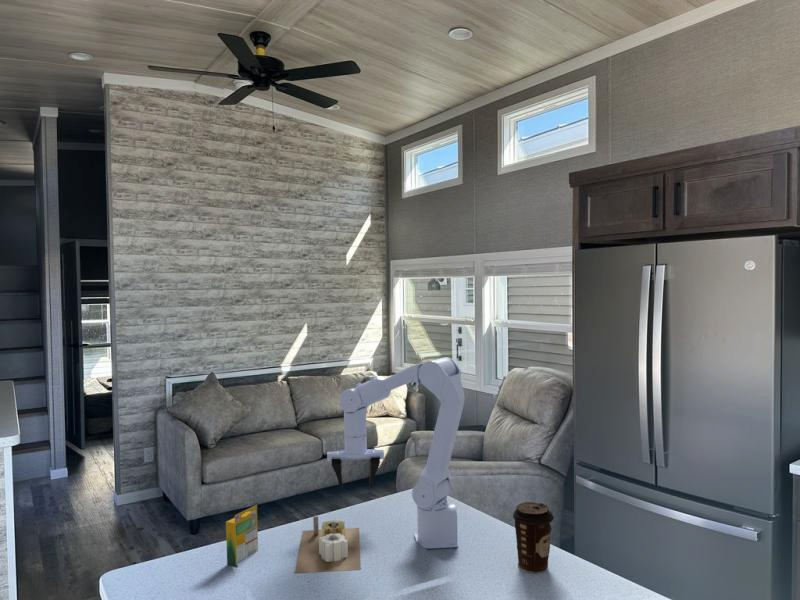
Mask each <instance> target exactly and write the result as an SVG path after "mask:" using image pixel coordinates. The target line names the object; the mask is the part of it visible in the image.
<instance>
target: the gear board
mask: <svg viewBox="0 0 800 600" xmlns="http://www.w3.org/2000/svg"><path fill="white" fill-rule="evenodd" d="M312 518H313V529H312V530H311V529H310V530H302V533H301V537H300V542H299V546H298V547H299V548H298V553H297V557H296V564H295V568H294V574H309V573H310V574H311V573H324V572H325V573H327V572H344V571H345V572H346V571H347V572H348V571H359V570H360V571H361V570H362V567H361V566H362V565H361V543H360V542H361V541H360V528H359V527H352V528H351V527H350V528H345V540H348V556H347V558H343V559H341V560H338V561H332V562H331V561H330V562H326V561H325V560H323V559H322V557H321V554H319V538H320V537H322V529H319V516H318V515H314V516H313V517H312ZM331 527H336V523H335V522H333V523H331ZM330 540H331V541H334V540H336V535H331V536H330Z"/></svg>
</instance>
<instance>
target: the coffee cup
mask: <svg viewBox="0 0 800 600" xmlns="http://www.w3.org/2000/svg"><path fill="white" fill-rule="evenodd" d="M512 518H513V520H514V527H515V528H514V530H515V539H516V550H517V559H518V562H517V567H518V568H519V569H521V570H522V571H524V572H527V573H531V574H538V573H544V572H545V571H547V570H548V568H549V557H550V555H549V554H550V552H551V551H550V548H551V538H552V536H551V535H552V526H551V523H552V522H553V520H554V518H555V517H554V515H553V513H552V511H550V509H549V507H548V505H547V504H544V503H540V502H536V501H535V502H533V501H531V502H530V501H525V502H521V503H519V504H517V506H516V509H515V510H514V511H513V513H512Z"/></svg>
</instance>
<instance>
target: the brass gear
mask: <svg viewBox="0 0 800 600" xmlns="http://www.w3.org/2000/svg"><path fill="white" fill-rule="evenodd" d="M333 522H335V523H336V527H331V523H333ZM345 527H346V526H345V521H343V520H330V521H328V520H327V521H324V522H322V524H321V530H322V537H323V536H326V535H327V534H334V533H336V534H337V533H340V534H341V535H343V536H344V537H345V529H346V528H345Z"/></svg>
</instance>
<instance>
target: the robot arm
mask: <svg viewBox="0 0 800 600" xmlns="http://www.w3.org/2000/svg"><path fill="white" fill-rule="evenodd" d="M461 376H462V370H461V368H460V367H459V366H458V365H457V363H456V361H454V359H452V358H450V357H448V356H447V357H446V356H442V357H440V358H438V359H434V360H428V361H425V362H421V363H417V364H413V365H410V366H408V367H406V368H405V369H402V370H401V371H398V372H397V373H394V374H392V375H391V376H388V377H384V376H379V375H378V376H377V375H373V376H370V377H369V380H367V381H365V382H363V383H361V382H359V383H357V384H356V383H355V387H353V388H347V389H345V390H343V392H342V393H341V394H340V395H339V399H338V400H339V405H340V408H341V409H342V411H343V434H344V435H343V436H344V437H343V438H344V441H343V442H344V449H341V450H334V451H327V452H326V453H327V455H326V457H327V458H326V461H327V462H331V467H332V469H333V471H334V473H335V476H336V478H337V482H338V485H339V490H343V488H344V487H343V474H342V473H343V472H342V461H347V460H348V461H349V460H369V488H370V489H373V487H374V482H375V481H374V480H375V476H376V474H377V471H378V469H379V467H380V464H381V460H384V459H385V451H384V449H373V448H371V449H369V448H367V447H368V444H367V443H368V441H367V440H368V439H367V437H368V436H367V413H368V407H369V406H371V405H373V404H376V403H377V402H380V401H383V400H385V399H387V398H388V399H389V397H390V395H391V392H392V390H394V389H397V388H400V387H402V386H406V385H408V384H410V383H412V382H413V383H416V384H422V385H423V387H425V388H426V389H427V390H428V391H429V392H431V394H433V396H435V397H436V398H437V399H438V401H439V403H440V405H439V410H438V414H437V418H436V424H435V427H434V431H433V435H432V439H431V444H430V448H429V452H428V456H427V460H426V465H425V467H424V469H422V472H421V473H420V475H419V478H418V481H417V483H416V484H414V486H413V487H412V491H411V496H412V497H411V498H412V499H413V502H414V503H415V505H416V507H417V508H416V509H417V512H416V513H417V532H415V533H414V540H415V542H417V543H418V544H419V545H421V546H422V547H423V548H424V549H426V550H428V549H429V550H430V549H446V548H447V549H448V548H458V547H459V544H458V541H459V540H458V515H457V514H458V513H457V507H456V504H455V503H448V497H447V496H449V495H450V493H451V491H452V482H451V475H452V471H451V470H450V468H449V466H450V463H451V459H452V455H453V451H454V446H455V443H456V439H457V438H456V437H457V434H458V430H459V425H460V421H461V418H462V414H463V409H464V404H465V401H466V400H465V399H466V397H465V396H466V395H465V391H464V386H463V384H462V378H461Z"/></svg>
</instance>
